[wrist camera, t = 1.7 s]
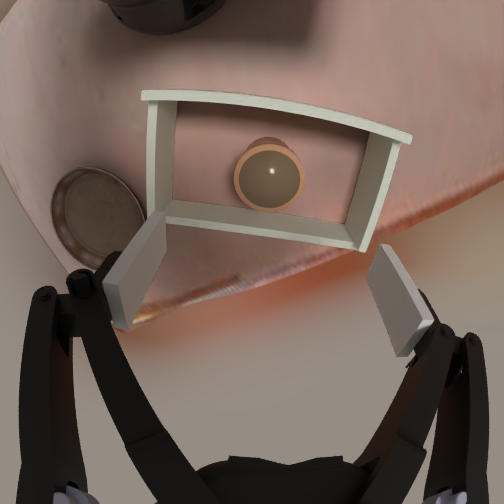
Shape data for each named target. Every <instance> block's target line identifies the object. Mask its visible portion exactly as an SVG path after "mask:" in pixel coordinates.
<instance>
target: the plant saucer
mask: <svg viewBox="0 0 504 504" xmlns="http://www.w3.org/2000/svg"><path fill="white" fill-rule="evenodd" d="M50 210H51V219H52V223H53V227H54V230H55V232H56V235H57V237H58V239H59V241H60V242H61V244H62V245H63V247H64V248H65V249H66V250H67V252H68V253H69V254H70V255H71V256H72V257H73V258H74V259H76V260H77V261H78V262H80V263H81V264H83V265H84V266H86V267H88V268H90V269H93V270H96V271H97V269H98V268H99V266H100V265H101V264H102V263H103V261H104V260H105V258H106V257H107V256H108V255H109V254H111V253H112V252H114V251H115V250H116V251H122V252H123V251H124V250H125V248H126V247H127V246H128V244H129V243H130V241H131V240H132V239H133V237H134V236H135V235H136V233H137V232H138V231H139V229H140V228H141V227H142V226H143V224H144V223H145V218H144V215H143V211H142V209H141V206H140V204H139V202H138V200H137V199H136V197H135V196H134V194H133V193H132V191H131V190H130V189H129V188H128V187H127V185H126V184H125V183H123V182H122V181H121V180H120V179H119V178H117V177H116V176H114V175H113V174H111V173H109V172H107V171H105V170H102V169H99V168H94V167H81V168H76V169H74V170H71V171H70V172H68V173H66V174H65V175H64V176H63V177H62V178H61V179H60V180H59V182H58V183H57V185H56V186H55V188H54V191H53V194H52V198H51V206H50Z"/></svg>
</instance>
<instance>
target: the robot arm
mask: <svg viewBox="0 0 504 504" xmlns="http://www.w3.org/2000/svg"><path fill="white" fill-rule="evenodd" d="M99 1H102V2H105V3H107V4H108V5H109V6H110V8H111V9H112V11H113V13H114V15H115V16H116V18H117V19H118V20H119V21H120V22H121V23H123V24H124V25H125V26H127V27H129V28H131V29H133V30H136V31H139V32H142V33H146V34H152V35H164V34H172V33H176V32H180V31H183V30H186V29H189V28H191V27H193V26H195V25H197V24H199V23H201V22H203V21H204V20H206V19H207V18H209V17H210V16H211V15H212V14H214V13H215V12H216V11H217V10H218V9H219V8H220V7H221V6H222V5H223V3H224V2H225V1H226V0H99ZM166 252H167V247H166V213H164V212H155V211H153V213H152V214H151V215H150V217H149V218H148V219H147V220H146V222H145V223H144V224H143V226H142V227H141V228H140V229H139V231H138V232H137V233H136V235H135V236H134V237H133V239H132V240H131V241H130V243H129V244H128V246H127V247H126V248H125V250H124V251H123V252H122V251H116V250H115V251H114V252H112V253H111V254H109V255H108V256H107V257H106V258H105V260H104V261H103V263H102V264H101V265H100V266H99V268H98V269H97V271H96V272H95V273H93V272H92V271H91V270H89V269H78V270H75V271H73V272H72V273H70V274H69V275H68V277H67V279H66V284H67V287H68V290H69V293H70V294H58V293H57V291H56V289H55V288H54V287H52V286H44V287H41V288H39V289H38V290H37V291H36V292H35V293H34V295H33V297H32V302H31V306H30V311H29V316H28V321H27V326H26V332H25V339H24V345H23V353H22V362H21V372H20V386H19V438H20V451H21V461H22V464H21V469H20V475H19V481H18V489H17V497H16V504H99V502H98V501H97V500H96V499H95V498H94V497H93V496H92V495H90V494H88V488H87V478H86V473H85V467H84V462H83V457H82V452H81V446H80V441H79V434H78V427H77V419H76V409H75V398H74V384H73V337H81V338H82V341H83V344H84V347H85V351H86V353H87V357H88V360H89V362H90V365H91V368H92V371H93V374H94V377H95V379H96V382H97V384H98V387H99V389H100V392H101V394H102V397H103V399H104V401H105V404H106V406H107V408H108V411H109V413H110V415H111V417H112V419H113V422H114V423H115V426H116V428H117V430H118V432H119V434H120V435H121V438H122V440H123V442H124V444H125V448H126V451H127V453H128V455H129V457H130V458H131V460H132V462H133V464H134V465H135V467H136V469H137V470H138V472H139V474H140V475H141V477H142V479H143V480H144V482H145V483H146V485H147V486H148V488H149V489H150V491H151V492H152V494H153V495H154V497H155V498H156V500H157V501H158V502H156V503H155V504H402V502H403V501H404V499H405V497H406V495H407V493H408V492H409V490H410V488H411V486H412V484H413V482H414V480H415V478H416V476H417V474H418V472H419V470H420V468H421V466H422V463H423V461H424V459H425V457H426V453H427V452H426V450H425V449H424V448H423V445H424V442H425V440H426V438H427V435H428V432H429V430H430V428H431V425H432V422H433V419H434V416H435V414H436V411H437V408H438V412H437V422H436V430H435V437H434V444H433V450H432V455H431V460H430V466H429V470H428V475H427V479H426V484H425V489H424V498H423V503H422V504H489V494H488V483H487V474H486V471H487V461H488V447H489V445H488V444H489V402H488V387H487V376H486V368H485V360H484V354H483V347H482V343H481V340H480V339H479V337H478V336H477V335H476V334H474V333H471V332H469V333H467V334H466V335H465V336H464V338H460V337H457V336H455V333H454V331H453V330H452V329H451V328H450V327H449V326H448V325H446V324H442V323H440V321H439V319H438V317H437V315H436V313H435V312H434V310H433V308H431V304H430V303H429V301H428V299H427V297H426V296H425V294H424V293H422V292H421V291H420V289H417V288H416V286H415V284H414V283H413V281H412V279H411V278H410V276H409V274H408V273H407V271H406V269H405V268H404V266H403V265H402V263H401V261H400V260H399V258H398V257H397V255H396V254H395V252H394V251H393V249H392V248H391V246H390V245H386V244H380V245H379V247H378V250H377V253H376V255H375V257H374V259H373V262H372V264H371V267H370V269H369V271H368V274H367V276H366V280H367V283H368V285H369V287H370V289H371V292H372V294H373V297H374V299H375V302H376V304H377V307H378V309H379V312H380V314H381V316H382V319H383V322H384V324H385V327H386V329H387V332H388V335H389V337H390V340H391V343H392V345H393V348H394V351H395V354H396V357H407V356H408V355H409V354H410V353H411V352H412V350H413V349H414V351H415V353H416V355H415V356H414V357H413V359H412V360H411V361H410V362H409V363H408V365H407V366H406V368H408V366H409V368H408V370H407V372H406V374H405V377H404V379H403V381H402V384H401V385H400V387H399V390H398V391H397V394H396V396H395V398H394V399H393V401H392V403H391V405H390V407H389V409H388V411H387V413H386V415H385V416H384V418H383V420H382V422H381V424H380V426H379V427H378V429H377V431H376V432H375V434H374V436H373V437H372V439H371V440H370V442H369V444H368V445H367V447H366V448H365V450H364V452H363V453H362V454H361V456H360V457H359V458H358V459H357V460H356V461H355V462H354V463H353V464H351V463H348V462H344V461H343V456H333V457H320V458H314V459H311V460H307V461H304V462H300V463H296V464H292V465H285V464H281V463H276V462H272V461H269V460H265V459H261V458H252V457H238V456H229V458H228V460H226V461H220V462H216V463H212V464H209V465H207V466H205V467H202V468H200V469H199V470H197V471H195V470H194V469H193V467H192V466H191V465H190V463H189V462H188V460H187V459H186V458H185V456H184V455H183V453H182V452H181V451H180V449H179V448H178V446H177V445H176V443H175V442H174V440H173V439H172V437H171V436H170V434H169V433H168V431H167V430H166V429H165V428H164V427H163V425H162V424H161V422H160V421H159V419H158V417H157V415H156V414H155V412H154V410H153V409H152V407H151V405H150V403H149V402H148V400H147V398H146V396H145V394H144V393H143V391H142V389H141V387H140V385H139V383H138V381H137V380H136V378H135V375H134V374H133V372H132V369H131V368H130V366H129V363H128V361H127V359H126V357H125V355H124V353H123V351H122V349H121V347H120V344H119V342H118V339H117V337H116V335H115V332H114V330H113V328H112V325H111V323H110V322H111V320H112V321H113V324H114V327H116V328H120V329H124V330H128V331H129V329H130V327H131V325H132V323H133V320H134V318H135V316H136V314H137V312H138V309H139V307H140V305H141V303H142V301H143V299H144V297H145V295H146V292H147V290H148V288H149V286H150V284H151V282H152V280H153V278H154V276H155V274H156V272H157V270H158V268H159V266H160V264H161V262H162V260H163V258H164V256H165V254H166ZM461 371H462V373H461Z"/></svg>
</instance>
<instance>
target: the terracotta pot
mask: <svg viewBox="0 0 504 504" xmlns="http://www.w3.org/2000/svg"><path fill="white" fill-rule="evenodd" d="M234 186H235V189H236V192H237V194H238V196H239V197H240V198H241V200H242V201H243V202H244V203H245V204H247V205H248V206H250V207H251V208H253V209H255V210H258V211H262V212H277V211H281V210H284V209H286V208H288V207H290V206H291V205H292V204H294V203H295V202H296V201H297V200H298V198H299V197H300V196H301V194H302V192H303V189H304V186H305V172H304V168H303V166H302V164H301V162H300V160H299V158H298V157H297V155H296V154H295V153H294V152H293V151H292V150H290V149H289V148H288V146H287V145H286V144H285V143H284V142H282V141H281V140H279V139H276V138H273V137H264V138H260V139H257V140H255V141H254V142H253V143H251V144H250V145H249V147H248V148H247V150H246V151H245V152H244V153H243V155H242V156H241V157H240V159H239V161H238V163H237V166H236V168H235V172H234Z"/></svg>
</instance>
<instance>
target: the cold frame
mask: <svg viewBox="0 0 504 504" xmlns="http://www.w3.org/2000/svg"><path fill="white" fill-rule="evenodd" d="M141 100H149V105H148V122H147V149H146V192H147V219H148V218H149V217H150V215H151V214H152V213H153V211H155V212H164V213H166V223H168V224H176V225H184V226H191V227H199V228H207V229H215V230H222V231H230V232H237V233H244V234H251V235H259V236H266V237H273V238H280V239H287V240H294V241H301V242H307V243H314V244H321V245H327V246H334V247H340V248H347V249H353V250H358V251H360V252H366V250H367V247H368V245H369V242H370V239H371V237H372V234H373V231H374V228H375V226H376V223H377V220H378V217H379V214H380V212H381V209H382V206H383V203H384V200H385V197H386V194H387V190H388V187H389V184H390V181H391V177H392V174H393V171H394V167H395V164H396V160H397V157H398V153H399V149H400V146H401V142H404V143H407V144H411V141H412V137H413V136H412V135H410V134H408V133H405V132H403V131H400V130H397V129H395V128H392V127H390V126H387V125H384V124H381V123H378V122H375V121H372V120H369V119H365V118H362V117H359V116H355V115H352V114H348V113H344V112H340V111H336V110H332V109H328V108H324V107H320V106H315V105H311V104H306V103H301V102H296V101H291V100H285V99H279V98H273V97H266V96H259V95H252V94H243V93H234V92H223V91H210V90H191V89H157V90H142V93H141ZM178 101H200V102H214V103H226V104H236V105H244V106H252V107H260V108H267V109H273V110H279V111H285V112H291V113H296V114H301V115H306V116H311V117H316V118H320V119H325V120H329V121H333V122H337V123H341V124H345V125H349V126H353V127H356V128H360V129H363V130H367V131H370V134H369V138H368V142H367V146H366V150H365V154H364V158H363V162H362V166H361V169H360V173H359V177H358V180H357V184H356V188H355V191H354V194H353V198H352V201H351V205H350V208H349V211H348V214H347V218H346V221H345V224H341V223H335V222H329V221H324V220H318V219H312V218H305V217H299V216H293V215H287V214H280V213H273V212H262V211H258V210H253V209H245V208H238V207H231V206H223V205H215V204H207V203H199V202H190V201H181V200H172V199H173V164H174V144H175V128H176V115H177V104H178Z"/></svg>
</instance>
